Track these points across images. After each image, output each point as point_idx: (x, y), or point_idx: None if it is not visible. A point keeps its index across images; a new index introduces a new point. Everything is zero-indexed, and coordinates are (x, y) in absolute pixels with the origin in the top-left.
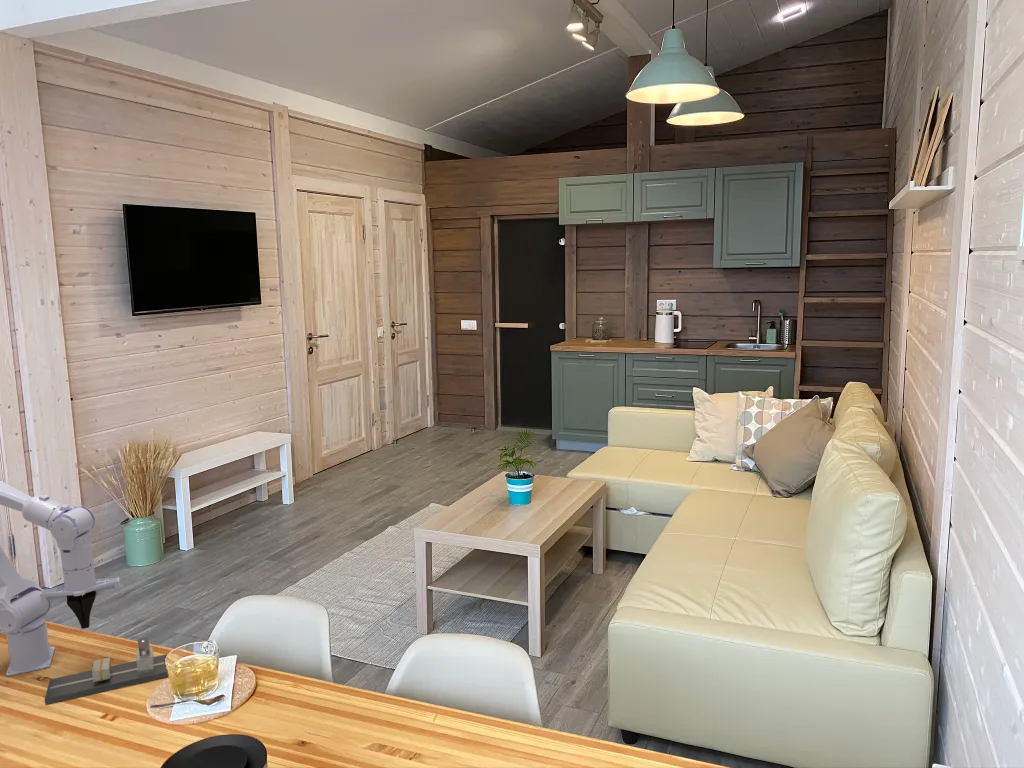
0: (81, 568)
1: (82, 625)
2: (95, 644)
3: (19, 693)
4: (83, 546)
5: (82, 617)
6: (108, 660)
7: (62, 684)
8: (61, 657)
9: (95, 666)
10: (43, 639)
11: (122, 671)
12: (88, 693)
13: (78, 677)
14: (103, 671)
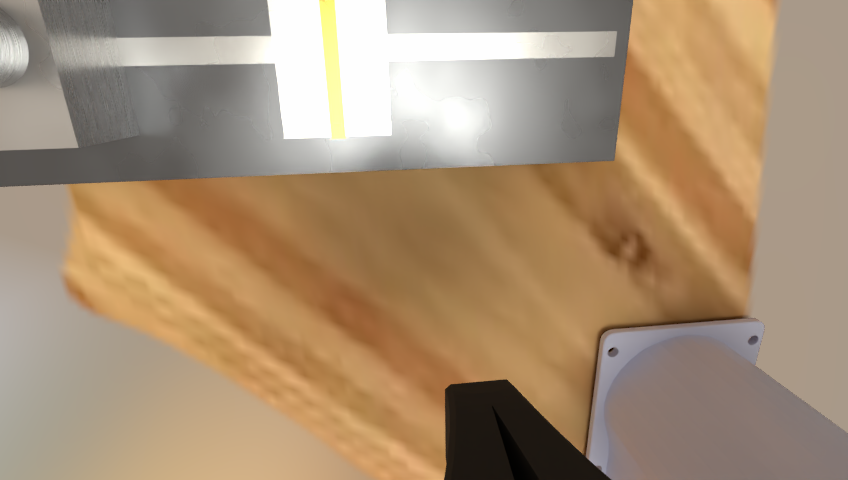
0: None
1: (509, 397)
2: (427, 468)
3: (722, 140)
4: None
5: (533, 466)
6: (287, 90)
7: (554, 54)
8: (555, 405)
9: (368, 28)
10: (691, 462)
11: (220, 58)
12: None
13: (475, 110)
14: None
